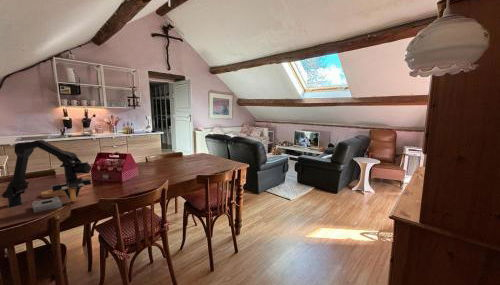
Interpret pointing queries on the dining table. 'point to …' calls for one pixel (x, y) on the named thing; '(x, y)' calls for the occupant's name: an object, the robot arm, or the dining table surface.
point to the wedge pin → (72, 194)
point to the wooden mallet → (54, 193)
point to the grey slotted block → (46, 204)
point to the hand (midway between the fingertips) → (73, 197)
